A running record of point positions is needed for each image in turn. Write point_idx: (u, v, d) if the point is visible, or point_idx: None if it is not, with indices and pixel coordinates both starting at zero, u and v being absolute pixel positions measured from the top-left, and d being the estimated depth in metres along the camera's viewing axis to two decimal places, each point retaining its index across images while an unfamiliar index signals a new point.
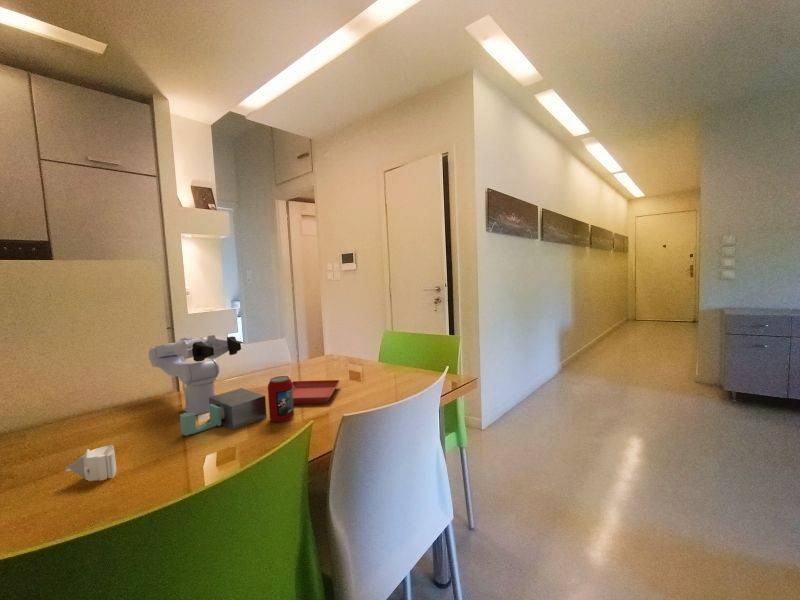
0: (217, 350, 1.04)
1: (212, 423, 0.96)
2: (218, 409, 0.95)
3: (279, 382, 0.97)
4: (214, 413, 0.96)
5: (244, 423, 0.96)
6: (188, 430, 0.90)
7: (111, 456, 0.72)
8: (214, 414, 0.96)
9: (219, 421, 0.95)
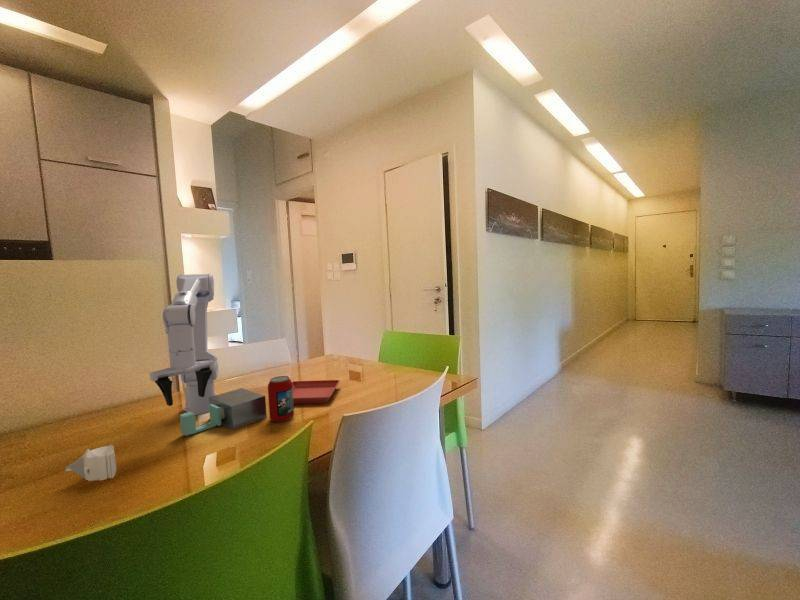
0: None
1: (212, 423, 0.96)
2: (218, 409, 0.95)
3: (279, 382, 0.97)
4: (214, 413, 0.96)
5: (244, 423, 0.96)
6: (188, 430, 0.90)
7: (111, 456, 0.72)
8: (214, 414, 0.96)
9: (219, 421, 0.95)
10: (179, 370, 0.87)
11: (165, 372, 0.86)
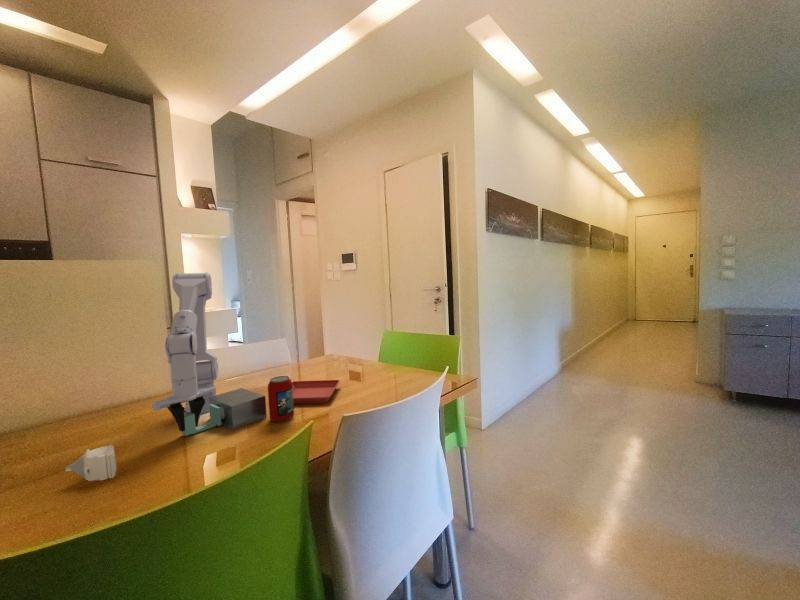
0: None
1: (212, 423, 0.96)
2: (218, 409, 0.95)
3: (279, 382, 0.97)
4: (214, 413, 0.96)
5: (244, 423, 0.96)
6: (188, 430, 0.90)
7: (111, 456, 0.72)
8: (214, 414, 0.96)
9: (219, 421, 0.95)
10: (181, 399, 0.88)
11: (167, 402, 0.86)
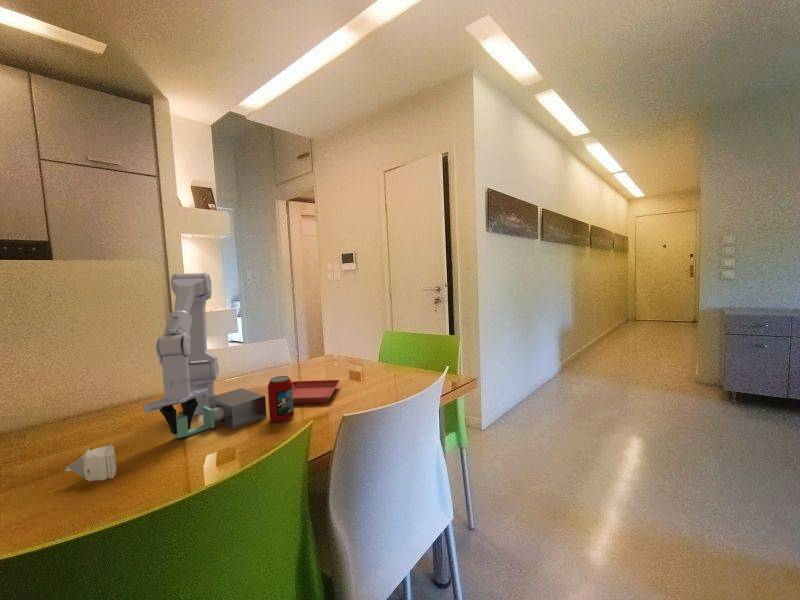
0: None
1: (205, 425, 0.95)
2: (211, 411, 0.94)
3: (279, 382, 0.97)
4: (207, 415, 0.95)
5: (244, 423, 0.96)
6: (181, 433, 0.89)
7: (111, 456, 0.72)
8: (207, 416, 0.95)
9: (212, 423, 0.94)
10: (173, 401, 0.86)
11: (159, 404, 0.85)
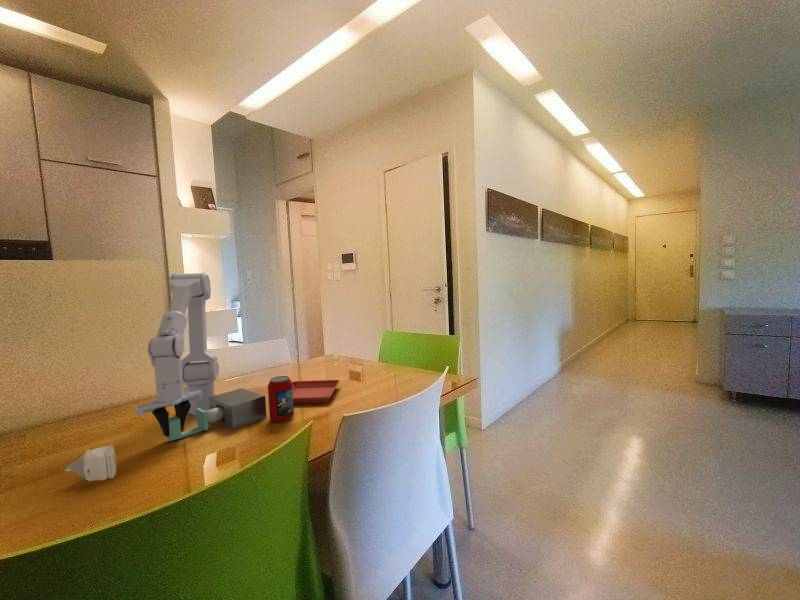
0: None
1: (199, 428, 0.93)
2: (205, 413, 0.92)
3: (279, 382, 0.97)
4: (201, 417, 0.93)
5: (244, 423, 0.96)
6: (173, 436, 0.87)
7: (111, 456, 0.72)
8: (201, 418, 0.93)
9: (206, 426, 0.93)
10: (166, 403, 0.85)
11: (151, 406, 0.83)
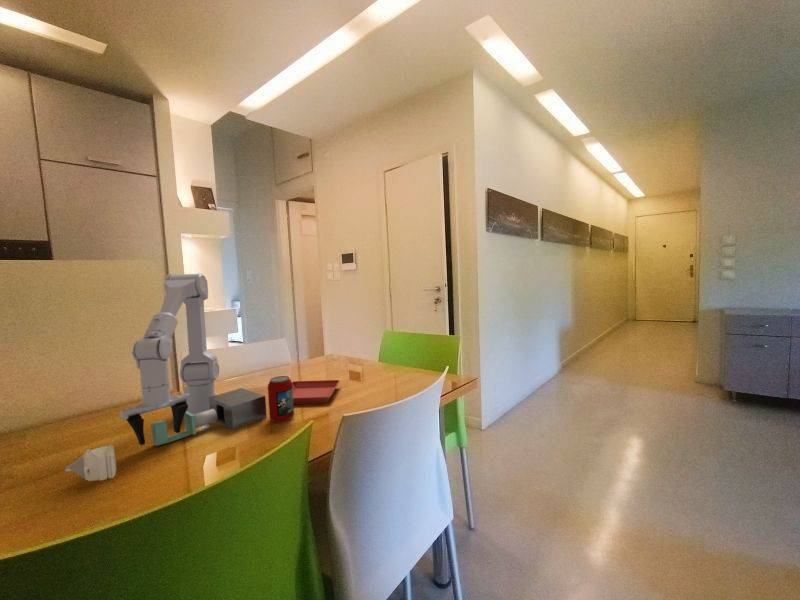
0: None
1: (187, 432, 0.91)
2: (193, 417, 0.90)
3: (279, 382, 0.97)
4: (189, 421, 0.91)
5: (244, 423, 0.96)
6: (160, 440, 0.85)
7: (111, 456, 0.72)
8: (189, 422, 0.91)
9: (194, 430, 0.90)
10: (151, 407, 0.83)
11: (136, 410, 0.81)
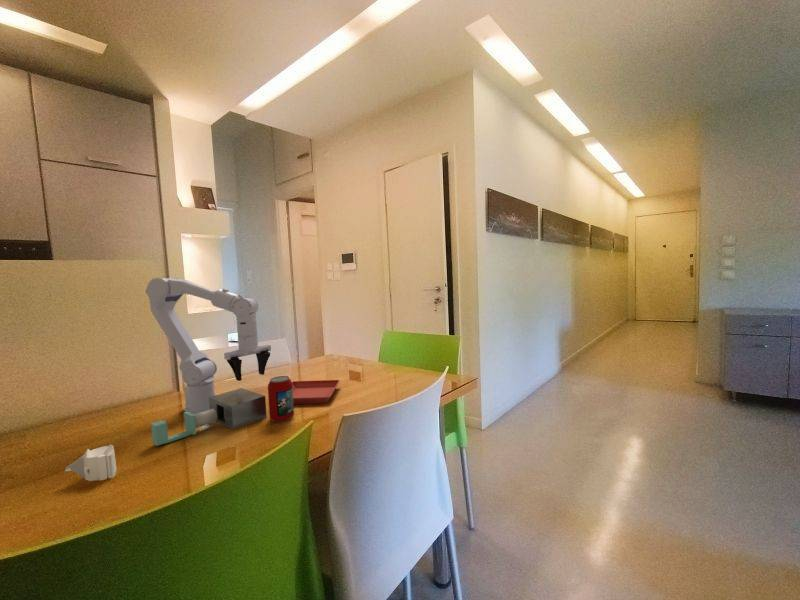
0: None
1: (187, 432, 0.91)
2: (193, 417, 0.90)
3: (279, 382, 0.97)
4: (189, 421, 0.91)
5: (244, 423, 0.96)
6: (160, 440, 0.85)
7: (111, 456, 0.72)
8: (189, 422, 0.91)
9: (194, 430, 0.90)
10: (246, 351, 1.06)
11: (236, 353, 1.05)
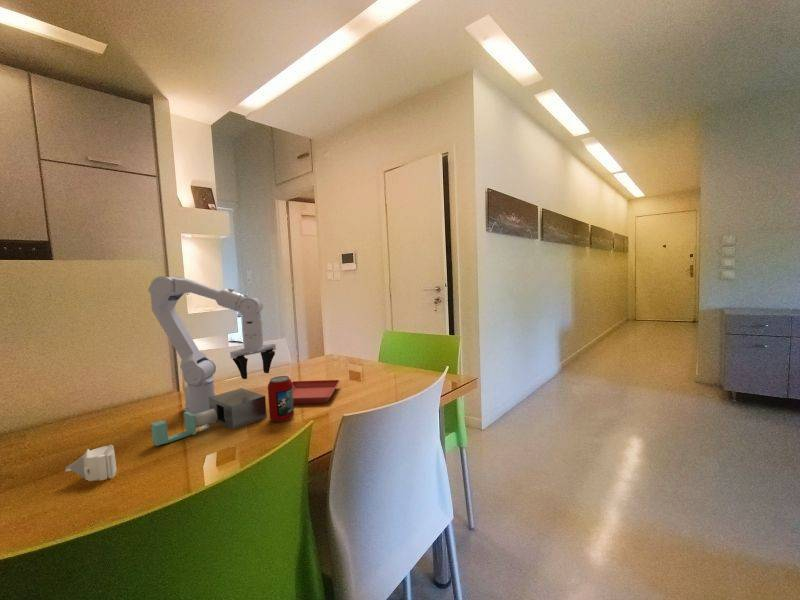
0: None
1: (187, 432, 0.91)
2: (193, 417, 0.90)
3: (279, 382, 0.97)
4: (189, 421, 0.91)
5: (244, 423, 0.96)
6: (160, 440, 0.85)
7: (111, 456, 0.72)
8: (189, 422, 0.91)
9: (194, 430, 0.90)
10: (252, 350, 1.08)
11: (242, 351, 1.07)
